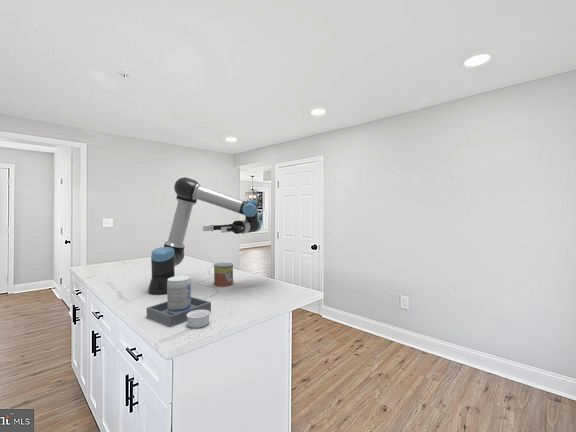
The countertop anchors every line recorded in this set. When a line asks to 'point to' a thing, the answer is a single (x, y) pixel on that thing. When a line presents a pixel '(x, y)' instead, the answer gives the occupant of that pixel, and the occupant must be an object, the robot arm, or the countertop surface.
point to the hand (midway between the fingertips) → (212, 229)
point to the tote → (162, 315)
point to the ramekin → (198, 318)
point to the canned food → (223, 274)
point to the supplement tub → (178, 294)
